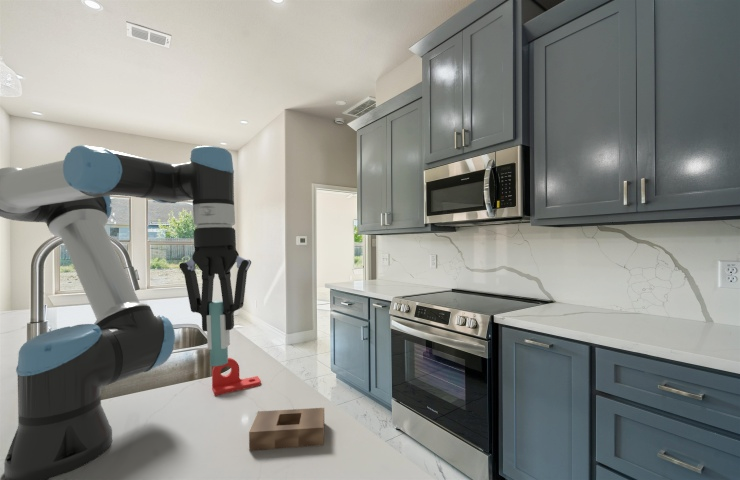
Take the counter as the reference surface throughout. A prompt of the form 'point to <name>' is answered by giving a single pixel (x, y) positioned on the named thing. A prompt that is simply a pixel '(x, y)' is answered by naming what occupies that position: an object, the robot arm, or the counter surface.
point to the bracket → (231, 379)
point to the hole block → (287, 429)
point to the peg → (217, 335)
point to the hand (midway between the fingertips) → (219, 346)
